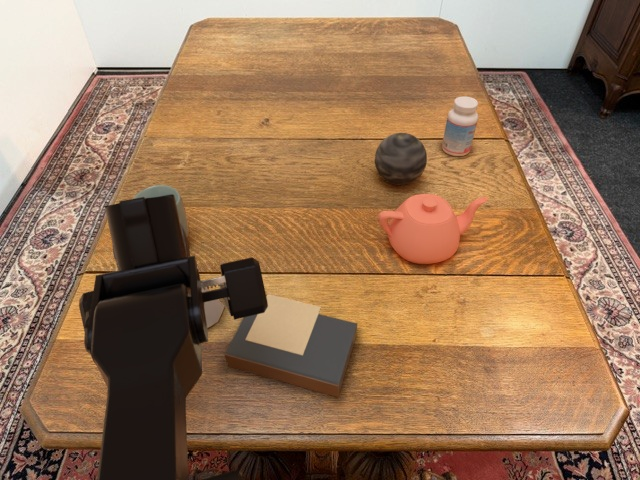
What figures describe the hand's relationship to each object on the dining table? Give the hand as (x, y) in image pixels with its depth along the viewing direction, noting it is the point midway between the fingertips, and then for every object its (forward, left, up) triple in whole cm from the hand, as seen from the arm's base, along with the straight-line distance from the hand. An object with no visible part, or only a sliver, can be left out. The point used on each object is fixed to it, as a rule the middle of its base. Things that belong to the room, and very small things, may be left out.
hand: (185, 294), depth 59 cm
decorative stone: (+47, -19, -13) cm, 52 cm away
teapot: (+31, -27, -13) cm, 43 cm away
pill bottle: (+61, -29, -13) cm, 69 cm away
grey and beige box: (+4, -12, -12) cm, 18 cm away
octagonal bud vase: (+6, +4, -13) cm, 14 cm away
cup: (+18, +16, -13) cm, 27 cm away
